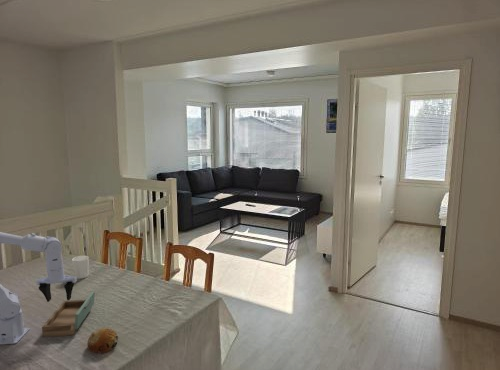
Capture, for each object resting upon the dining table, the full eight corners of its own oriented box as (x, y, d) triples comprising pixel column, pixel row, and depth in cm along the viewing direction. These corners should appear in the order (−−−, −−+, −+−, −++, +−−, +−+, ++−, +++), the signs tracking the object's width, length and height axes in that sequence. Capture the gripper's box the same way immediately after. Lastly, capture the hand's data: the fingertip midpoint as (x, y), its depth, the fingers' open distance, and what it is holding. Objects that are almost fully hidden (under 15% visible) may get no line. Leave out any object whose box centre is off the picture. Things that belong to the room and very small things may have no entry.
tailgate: (78, 329, 132) (79, 314, 131) (74, 328, 132) (75, 314, 131) (95, 304, 150) (96, 291, 149) (91, 304, 150) (92, 291, 149)
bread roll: (112, 344, 131) (106, 324, 132) (125, 343, 125) (119, 321, 126) (87, 358, 124) (80, 335, 125) (98, 357, 117) (92, 334, 118)
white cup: (73, 274, 185) (72, 256, 184) (90, 272, 189) (88, 254, 187) (73, 280, 178) (71, 262, 177) (90, 277, 182) (88, 259, 180)
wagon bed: (73, 334, 131) (72, 325, 131) (43, 336, 130) (41, 327, 130) (91, 307, 151) (90, 299, 150) (65, 309, 150) (64, 300, 149)
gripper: (78, 262, 141) (81, 293, 144) (40, 265, 140) (44, 296, 142) (71, 269, 134) (75, 302, 137) (31, 272, 133) (36, 305, 135)
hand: (59, 299), depth 139 cm, fingers open, 7 cm apart
